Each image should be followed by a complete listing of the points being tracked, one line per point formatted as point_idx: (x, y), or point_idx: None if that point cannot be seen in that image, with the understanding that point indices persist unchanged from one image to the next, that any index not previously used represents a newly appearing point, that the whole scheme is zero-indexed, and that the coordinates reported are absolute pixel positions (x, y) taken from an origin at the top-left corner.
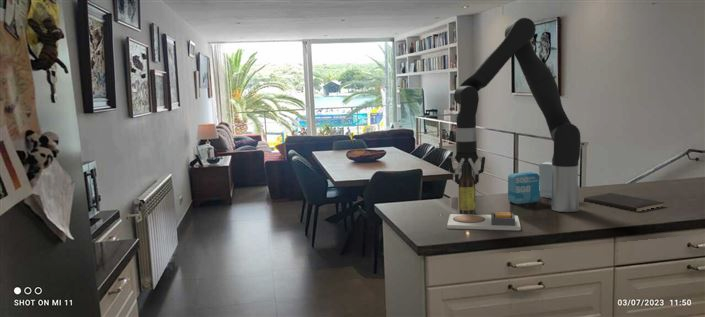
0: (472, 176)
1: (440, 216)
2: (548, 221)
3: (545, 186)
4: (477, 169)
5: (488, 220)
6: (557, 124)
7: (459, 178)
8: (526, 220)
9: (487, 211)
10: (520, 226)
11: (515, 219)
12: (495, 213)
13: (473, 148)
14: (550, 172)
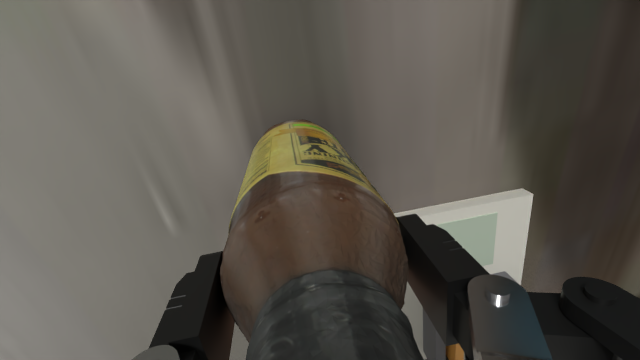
0: (401, 305)
1: (178, 241)
2: (624, 195)
3: None
4: (537, 345)
5: (412, 301)
6: None
7: (232, 314)
8: (550, 203)
9: (393, 69)
10: None
11: (512, 258)
12: (456, 348)
13: None
14: None
